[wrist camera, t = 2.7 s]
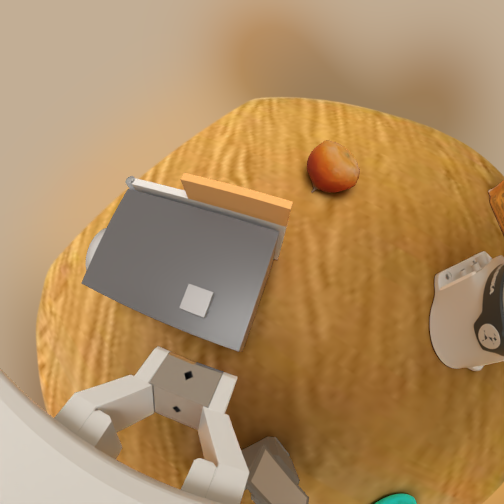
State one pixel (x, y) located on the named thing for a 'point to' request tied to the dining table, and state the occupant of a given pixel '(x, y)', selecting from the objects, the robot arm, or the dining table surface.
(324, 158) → the fruit
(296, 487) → the camera
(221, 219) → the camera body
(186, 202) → the side door
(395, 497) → the turquoise spool
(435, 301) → the robot arm
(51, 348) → the dining table surface
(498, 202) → the pancake mix bag
